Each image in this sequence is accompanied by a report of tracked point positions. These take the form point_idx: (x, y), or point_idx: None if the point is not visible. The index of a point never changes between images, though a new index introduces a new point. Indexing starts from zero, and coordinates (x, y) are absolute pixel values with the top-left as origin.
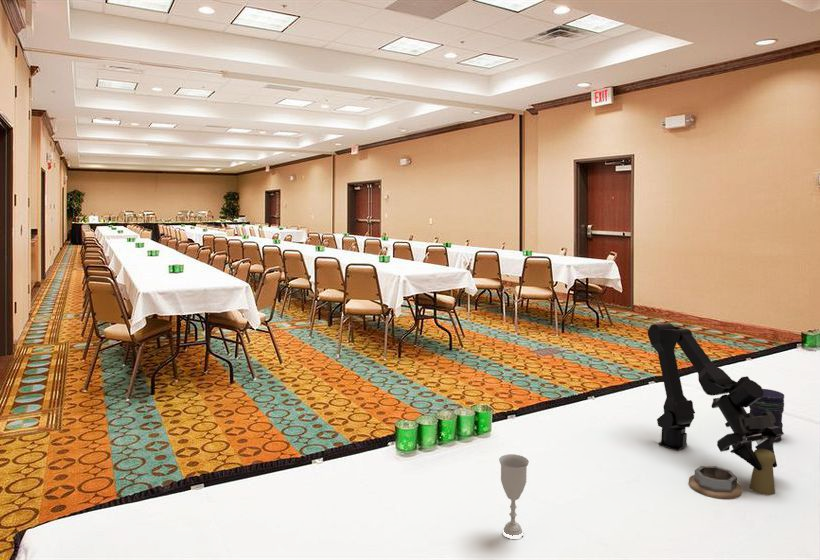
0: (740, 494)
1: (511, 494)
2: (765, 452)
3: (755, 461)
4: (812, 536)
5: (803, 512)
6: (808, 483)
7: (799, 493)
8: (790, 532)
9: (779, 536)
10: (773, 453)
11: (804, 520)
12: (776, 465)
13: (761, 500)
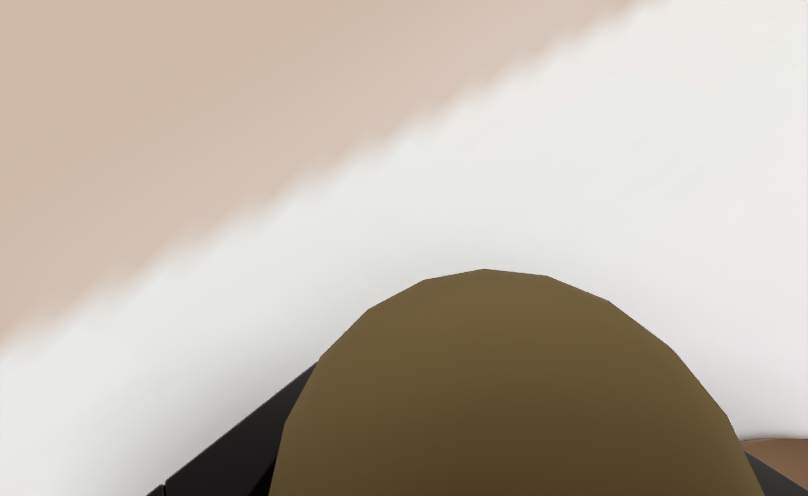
0: None
1: None
2: (604, 405)
3: (754, 468)
4: (628, 15)
5: (469, 143)
6: (15, 375)
7: (248, 296)
8: (705, 58)
9: (786, 55)
10: (381, 327)
11: (540, 97)
12: None
13: None
